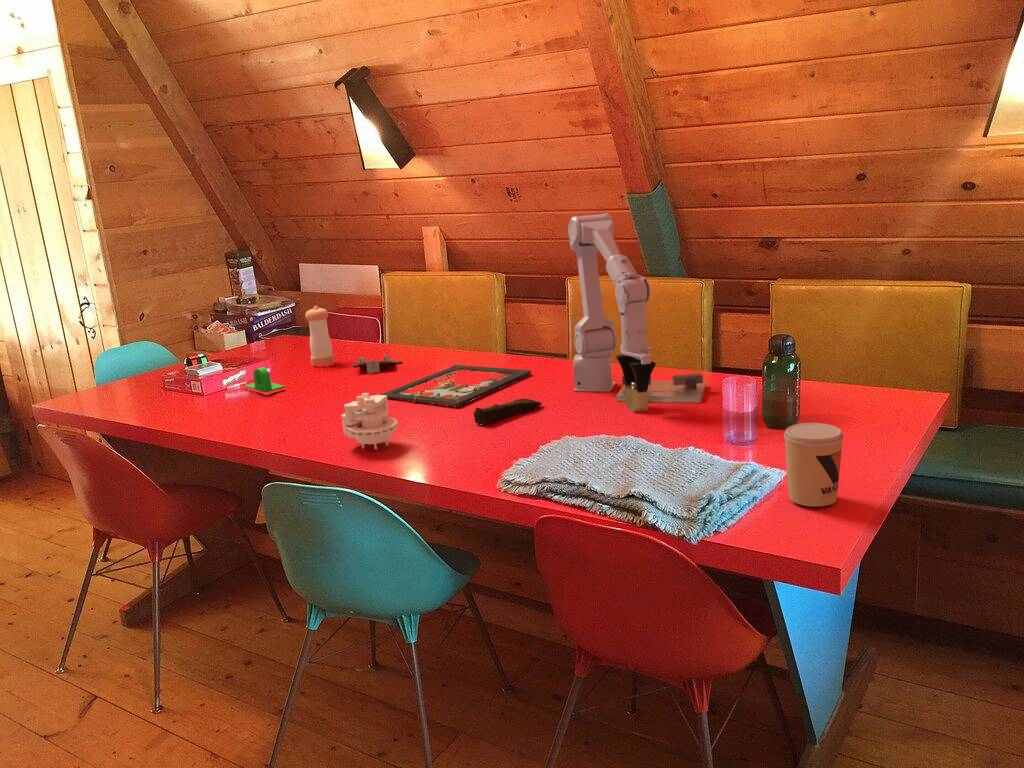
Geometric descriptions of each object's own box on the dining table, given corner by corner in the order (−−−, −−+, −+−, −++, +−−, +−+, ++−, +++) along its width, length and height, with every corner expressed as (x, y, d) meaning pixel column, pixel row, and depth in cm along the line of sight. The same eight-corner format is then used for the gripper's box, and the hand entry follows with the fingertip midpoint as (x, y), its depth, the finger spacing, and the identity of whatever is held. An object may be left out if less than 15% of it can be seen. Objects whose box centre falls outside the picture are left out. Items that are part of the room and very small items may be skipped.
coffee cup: (828, 513, 144) (829, 443, 141) (774, 501, 150) (774, 434, 147) (850, 494, 151) (852, 427, 148) (798, 483, 157) (798, 419, 154)
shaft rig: (616, 401, 215) (615, 383, 214) (626, 386, 228) (625, 369, 227) (700, 402, 209) (699, 383, 208) (705, 386, 222) (705, 369, 221)
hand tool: (483, 410, 202) (470, 406, 205) (484, 427, 203) (471, 423, 207) (543, 392, 214) (530, 389, 217) (543, 408, 215) (530, 404, 218)
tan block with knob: (633, 413, 205) (632, 385, 204) (626, 408, 210) (625, 381, 208) (647, 410, 206) (646, 383, 205) (641, 406, 210) (639, 379, 209)
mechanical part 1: (285, 392, 249) (281, 365, 247) (266, 398, 245) (262, 370, 243) (263, 387, 258) (259, 360, 256) (244, 392, 254) (240, 365, 252)
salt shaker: (313, 365, 280) (305, 305, 275) (336, 363, 281) (328, 303, 276) (310, 370, 273) (302, 309, 268) (334, 368, 274) (326, 307, 269)
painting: (534, 377, 247) (534, 368, 246) (460, 412, 219) (459, 402, 218) (454, 370, 262) (453, 362, 261) (375, 402, 234) (374, 393, 233)
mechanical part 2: (372, 458, 188) (365, 404, 185) (336, 449, 196) (329, 397, 193) (411, 443, 196) (405, 391, 193) (375, 435, 204) (369, 385, 201)
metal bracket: (397, 353, 260) (346, 357, 260) (398, 373, 260) (347, 377, 260) (402, 356, 274) (354, 360, 274) (404, 375, 274) (355, 378, 274)
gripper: (662, 334, 197) (664, 393, 200) (639, 323, 211) (641, 378, 214) (632, 337, 196) (635, 397, 199) (610, 327, 209) (613, 382, 213)
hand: (636, 388), depth 207 cm, fingers open, 7 cm apart
